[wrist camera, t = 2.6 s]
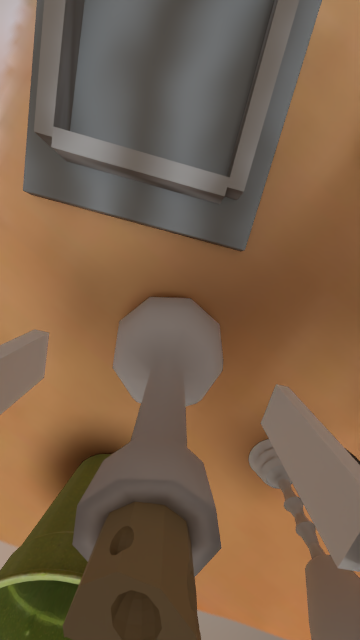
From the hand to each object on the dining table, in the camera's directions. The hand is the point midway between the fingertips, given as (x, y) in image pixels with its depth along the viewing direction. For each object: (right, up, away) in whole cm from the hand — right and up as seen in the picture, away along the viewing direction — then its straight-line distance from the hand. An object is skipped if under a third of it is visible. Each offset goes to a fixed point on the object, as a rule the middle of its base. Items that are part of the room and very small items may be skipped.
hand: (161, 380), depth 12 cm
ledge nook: (0, +22, +3) cm, 23 cm away
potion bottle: (0, +2, +9) cm, 9 cm away
